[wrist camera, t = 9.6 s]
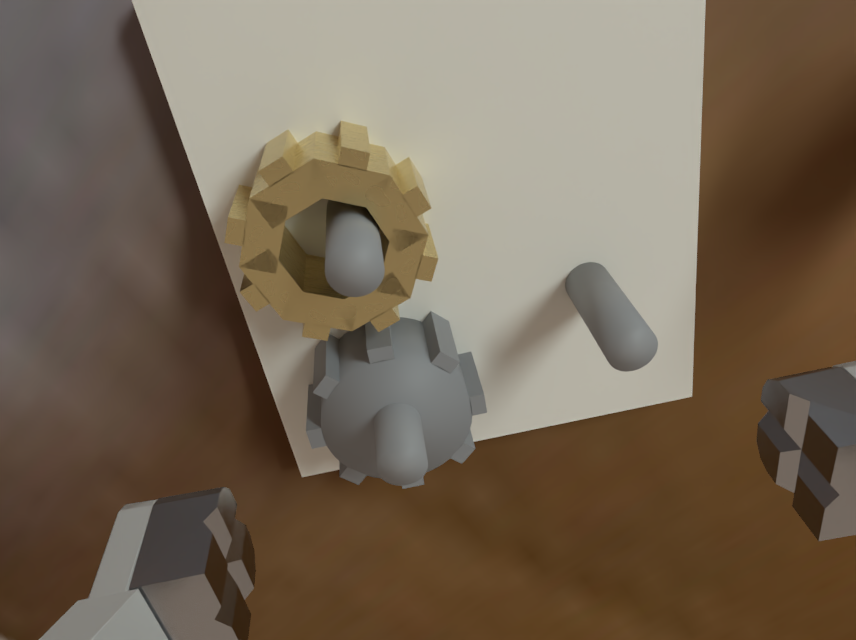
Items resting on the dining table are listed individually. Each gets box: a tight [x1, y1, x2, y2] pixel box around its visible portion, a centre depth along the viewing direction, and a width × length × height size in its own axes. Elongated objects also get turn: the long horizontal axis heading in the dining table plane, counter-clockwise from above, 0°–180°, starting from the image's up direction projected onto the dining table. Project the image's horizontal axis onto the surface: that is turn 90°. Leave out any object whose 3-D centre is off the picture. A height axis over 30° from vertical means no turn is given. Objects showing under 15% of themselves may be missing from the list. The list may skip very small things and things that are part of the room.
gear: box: [224, 121, 438, 341], centre depth 24 cm, size 7×7×3 cm
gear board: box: [132, 0, 706, 489], centre depth 25 cm, size 20×18×7 cm
